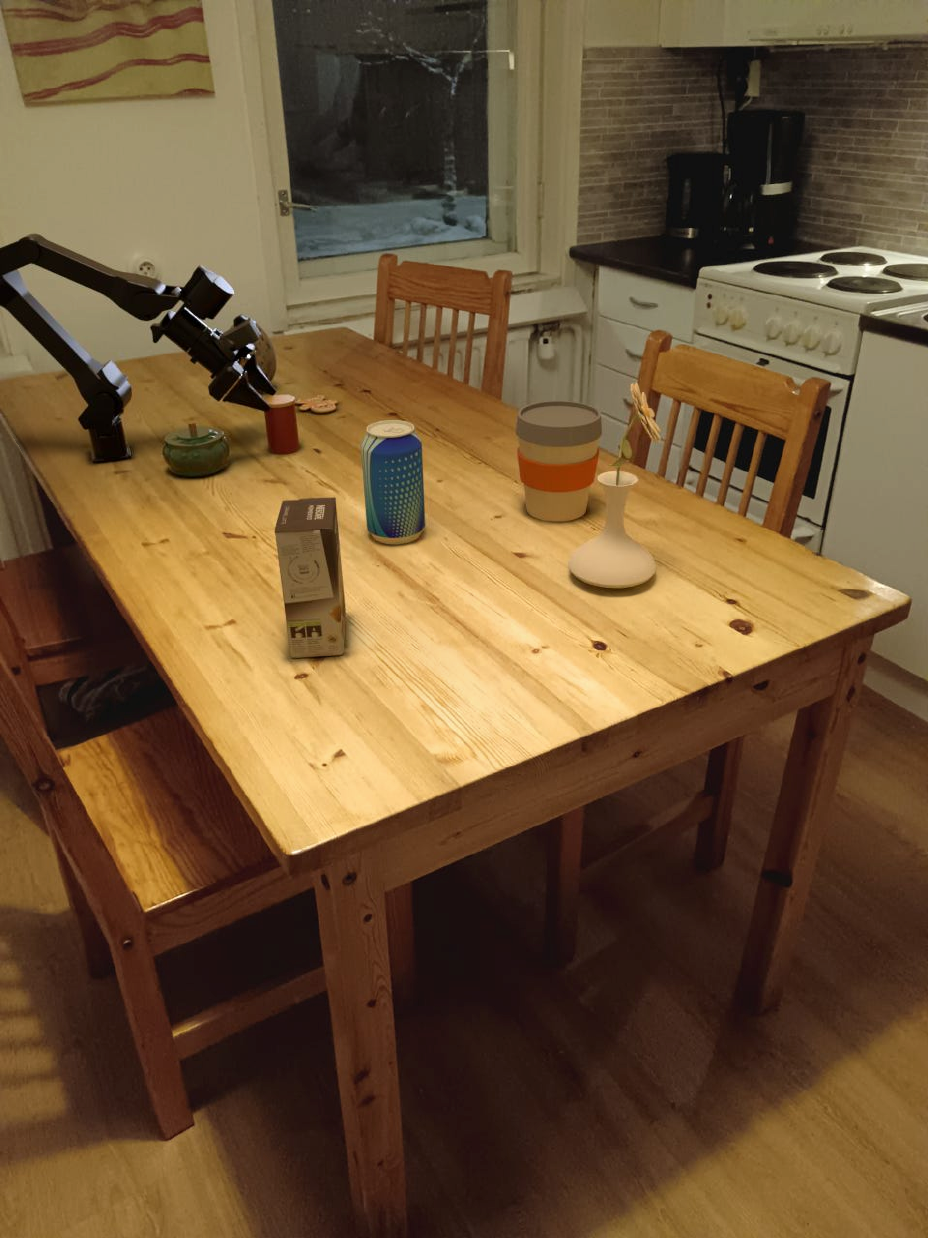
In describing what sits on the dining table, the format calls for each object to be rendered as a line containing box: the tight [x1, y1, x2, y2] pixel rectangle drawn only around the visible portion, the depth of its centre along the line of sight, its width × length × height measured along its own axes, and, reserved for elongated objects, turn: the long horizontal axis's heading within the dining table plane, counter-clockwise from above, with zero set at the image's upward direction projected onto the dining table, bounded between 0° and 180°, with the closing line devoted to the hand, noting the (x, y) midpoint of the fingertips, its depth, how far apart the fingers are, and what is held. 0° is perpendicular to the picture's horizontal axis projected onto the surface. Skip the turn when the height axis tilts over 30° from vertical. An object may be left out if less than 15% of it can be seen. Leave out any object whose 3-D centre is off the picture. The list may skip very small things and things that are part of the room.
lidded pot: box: [162, 421, 231, 478], centre depth 161 cm, size 11×11×8 cm
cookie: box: [295, 395, 338, 414], centre depth 191 cm, size 8×1×10 cm
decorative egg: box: [230, 322, 277, 393], centre depth 197 cm, size 11×11×15 cm
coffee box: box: [274, 496, 347, 659], centre depth 110 cm, size 9×6×16 cm
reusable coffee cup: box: [515, 400, 603, 523], centre depth 142 cm, size 13×12×15 cm
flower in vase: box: [567, 381, 662, 589], centre depth 121 cm, size 13×11×25 cm
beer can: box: [360, 419, 426, 545], centre depth 135 cm, size 8×8×16 cm
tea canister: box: [263, 394, 300, 455], centre depth 168 cm, size 6×6×9 cm
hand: (271, 401), depth 166 cm, fingers open, 9 cm apart
